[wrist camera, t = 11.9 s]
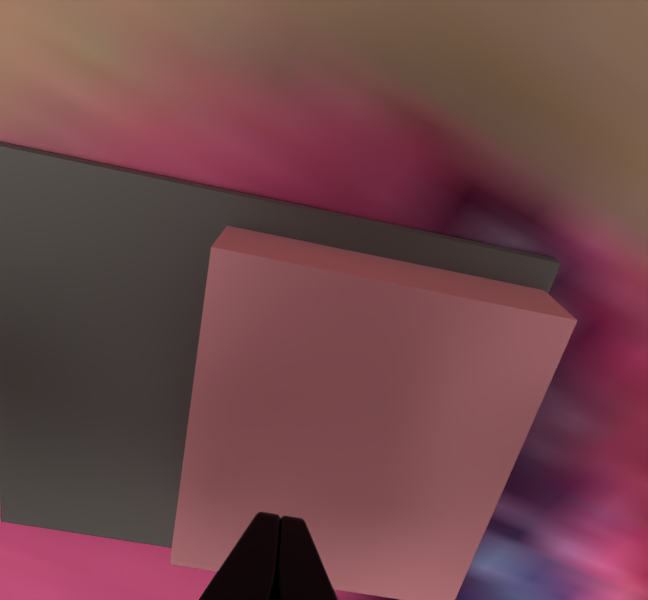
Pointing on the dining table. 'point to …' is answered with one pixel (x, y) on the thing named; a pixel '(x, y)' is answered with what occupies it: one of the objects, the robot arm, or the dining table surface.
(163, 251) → the mat
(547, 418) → the dining table surface
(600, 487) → the dining table surface
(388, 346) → the pink rectangular block
